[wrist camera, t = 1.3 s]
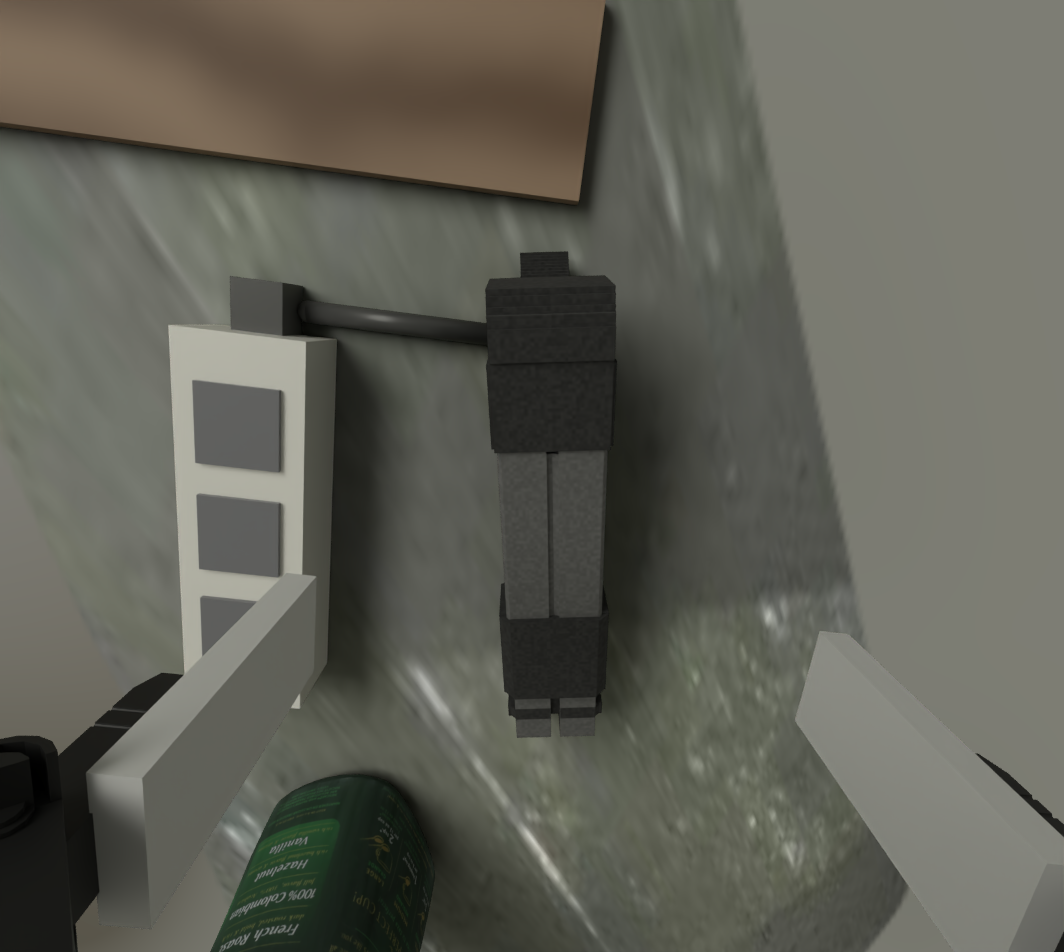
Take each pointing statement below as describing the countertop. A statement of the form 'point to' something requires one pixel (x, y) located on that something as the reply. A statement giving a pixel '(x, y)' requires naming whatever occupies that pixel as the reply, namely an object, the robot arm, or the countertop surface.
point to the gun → (552, 485)
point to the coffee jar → (334, 874)
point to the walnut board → (319, 84)
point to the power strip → (263, 451)
